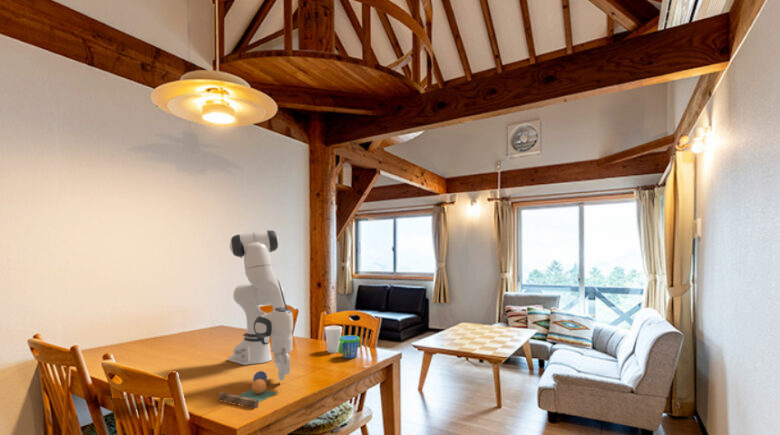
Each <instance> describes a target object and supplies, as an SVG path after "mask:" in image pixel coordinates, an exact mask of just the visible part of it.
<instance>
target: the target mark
mask: <svg viewBox="0 0 780 435" xmlns="http://www.w3.org/2000/svg"><path fill="white" fill-rule="evenodd" d="M276 394H278V392H277V391H270V390H266V389H265V391H264V392H263V393H261V394H255V393H254V392H253V391H252V388H251V389H248V390H247V391H245V392H242V393H240V394H237V396H242V397H246V398H251V399H256V400H258V403H260V402H263V401H265V400H266V399H268V398H271V397H272V396H275V395H276Z"/></svg>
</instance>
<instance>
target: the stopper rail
mask: <svg viewBox="0 0 780 435" xmlns="http://www.w3.org/2000/svg"><path fill="white" fill-rule="evenodd" d="M219 400H222V401H221V402H223V401H226V402H225V403H228V402H231V403H230V404H232V403H236V404H235V405H237V404H240V405H239V406H241V405H243V406H242V407H246V406H247V408H250V407H252V408H251V409H254V408H256V409H258V408H259V402H258V400H256V399H251V398H246V397H242V396H238V394H237V395H236V394H231V393H226V392H220V393H218V401H219ZM257 407H258V408H257Z"/></svg>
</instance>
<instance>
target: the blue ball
mask: <svg viewBox="0 0 780 435" xmlns="http://www.w3.org/2000/svg"><path fill="white" fill-rule="evenodd" d="M257 379H263V380H264V381H265V382H266V383H267V380H268V376H267V373H266V372H265V371H263V370H259V371H257V372H255V373H254V375H253V378H252V382H254V381H255V380H257Z"/></svg>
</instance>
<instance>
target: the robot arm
mask: <svg viewBox="0 0 780 435" xmlns="http://www.w3.org/2000/svg"><path fill="white" fill-rule="evenodd" d="M279 244H280V240H279V236H278V234H277V233H276V231H274V230H269V229H268V230H258V231H253V232H252V231H251V232H245V233H242V234H235V235H233V236H232V237H231V238H230V243H229V248H230V252H231V253H232V255H234V257H237V258H241V259H243V264H244V271H245V276H246V278H247V279H248V282H249V283H244V284H239V285H238V284H237V286H236V287H235V288H234V290H233V294H232V295H233V297H232V298H233V300H234V301H235V303H236V304H237V305H238V306H240V307H241V309H242V310H243V311H244V314H245V317H246V332H245V333H242V337H244V338H243V340H242V341H241V342H239V344H237V345H235V347H234V349H233V354H232V355H231V356H229V357H228V358H227V361H230V362H233V363H237V364H239V365H243V366H248V365H257V364H263V363H267V362H270V361H271V360H272V359H273V362H274V364H275V366H276V368H277V370H278V379H279V381H284V380H285V375H286V376H287V375H289V374H290V373H291V360H290V359H291V358H290V354H291V352H292V351H293V350H294V348H293V346H294V342H293V341H294V338H293V330H294V317H293V312H292V310H291V309H289V308H288V307H287V304H286V300H285V294H286V293H285V290H284V288H283V286H282V285H281V282H280V281H279V280H278V278H277V277H276V275H275V273H274V270H273V266H272V265H273V264H272V260H271V259H272V258H271V254H270V253H272V252H275V251H276V250H277V249H278V247H279ZM259 306H272V311H270V312H267V313H266V312H265V311H263V310H261V308H260V307H259ZM270 339H271V344H270ZM270 345H271V346H270ZM272 353H273V358H272Z"/></svg>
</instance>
